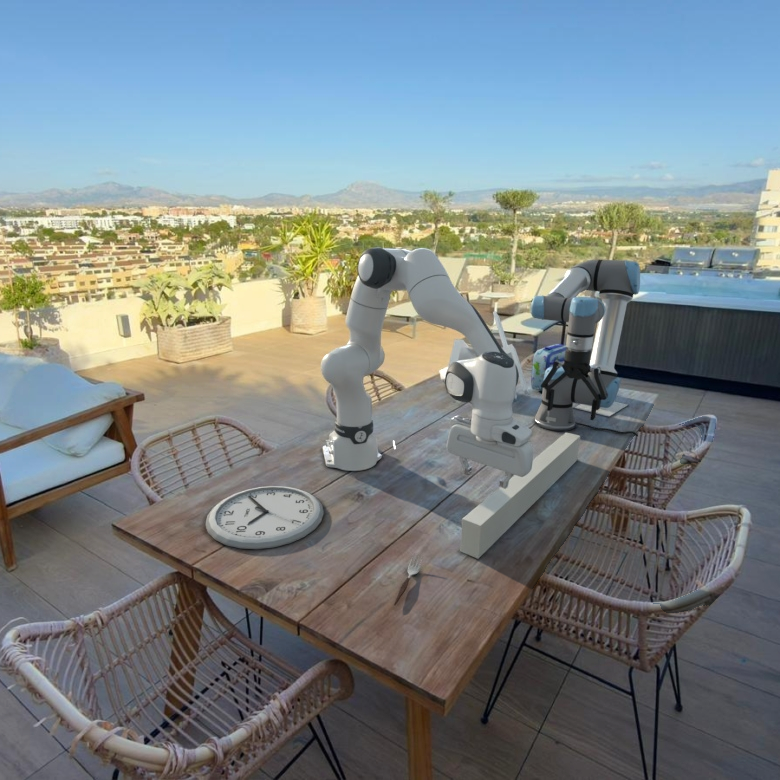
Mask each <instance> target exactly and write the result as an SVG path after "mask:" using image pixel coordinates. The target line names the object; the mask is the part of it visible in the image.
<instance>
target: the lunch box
mask: <svg viewBox="0 0 780 780" xmlns="http://www.w3.org/2000/svg"><path fill="white" fill-rule="evenodd" d="M566 349H567V347H566V344H560V343H555V344H552V345H547V346H545V347H542V348H539V349H537V350H536V351H535V353H534V355H533V358H532V363H531V364H532V365H531V376H530V377H531V378H530V387H531V389H532V390H536V391H539V392H540V391H541V392H542V391H543V388H542V387H541V384H542V383H543V379H544V375H545V371H546V369H548V368H550V367H553V363H554V362H555V361H557V360H559V361H560V362H563V363H564V358H565V350H566Z"/></svg>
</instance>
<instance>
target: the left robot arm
mask: <svg viewBox="0 0 780 780" xmlns="http://www.w3.org/2000/svg"><path fill="white" fill-rule="evenodd" d="M356 271H357V276H356V279H355V282H354V285H353V287H352V291H351V295H350V299H349V303H348V307H347V311H346V316H345V319H344V320H345V321H344V322H345V326H346V328H347V329H348V331H349V339H348V342H347V343H346V344H345V345H342V346H339V347H336V348H334V349H332V350H331V351H330V352H328V353H326V355H324V356H323V358H322V359H321V361H320V372H321V375H322V377H323V379H324V380H325V381H326V382H327V383H328V384H330V386H331V387H332V390H333V392H334V397H335V405H336V417H335V418H336V419H335V423H334V429H333V431H331V432H330V433H329V435H328V439H325V440H324V442H325V443H324V444H325V445H323V446H322V453H323V454H322V455H323V458H324V463H325V466H326V467H327V468H333V469H334V468H335V469H338V470H341V471H346V472H347V471H349V472H358V471H359V472H360V471H364V470H369V469H371V468H373V467H374V466H375V465H376V464H377V462H378V461H379V460H381V459H382V458H383V456H382V454H381V453H380V452H379V449H378V436H377V434H376V433H374V420H373V415H372V414H373V398H372V396H371V394H369V392H367V391H366V389H365V384H364V378H365V377H367V376H369V375H371V374H374V373H375V372H376V371H377V370H379V368H381V367H382V366H383V364H384V362H385V358H386V354H385V350H384V348H383V346H382V331H383V326H384V322H385V319H386V315H387V310H388V308H389V303H390V299H391V295H392V293H393V292H399V291H400V292H401V291H402V292H405V291H406V292H407V295H408V297H409V300H410V302H411V305H412V307H413V309H414V311H415V313H416V314H417V315H418V316H419V318H420V319H422V320H423V321H425V322H427V323H429V324H433V325H437V326H441V327H445V328H447V329H452V330H454V331H456V332H458V333H460V334H462V336H464V337H465V339H466V340H467V341H468V343H469V344H470V347H473V349H474V351H475V352H476V354H477V355H478V357H476V358H473V359H466V360H460V361H456V362H453V363H452V364H451V365H450V366H449V365H448V366H449V367H448V366H447V367H448V369H447V372H446V376H445V384H444V386H445V389H446V391H447V393H448V395H449V396H450V397H451V398H452V399H454V400H456V401H458V402H461V403H470V404H472V410H471V418H467V417H463V416H461V415H456V416H453V417H451V418H450V420H449V432H448V437H447V440H446V450H447V452H448V453H449V454H451V455H454V456H457V457H459V458H458V459H459V462H460V465H461V467H462V474H463V475H465V476H468V477H470V475H472V473H473V471H472V470H473V466H470V464H469V460H470V461H472V462H475V463H478V464H481V465H484V466H487V467H491V468H493V469H497V470H499V471H502V472H504V476H506V477H502V478H501V479H500V480H499V484H498V488H500V487H501V488H504V489H506V488H507V487H508V484H509V480H510V479H511V478H512V477H513V476H514V475H517V476H520V477H524V476H525V475H527V474H528V473H529V472H530V471H531V469H532V462H533V459H534V449H533V445H532V442H531V441H530V440H531V438H532V436H533V431H532V429H531V428H529V427H527V426H526V425H524V424H523V423H521V422H520V421H518V420H516V419H515V418H514V417H513V414H514V413H513V402H514V400H515V391H517V390H516V389H517V385H518V383H519V380H520V379H519V373H518V369H517V366H516V364H515V362H514V360H513V359H512V358H511V357H510V356H508V355H507V354H506V353H505V352H504V350H503V349H502V348H503V347H502V346H501V345H500V343H499V342H498V340H497V338H496V337H495V335H494V334H493V332H492V330H491V329H490V327H489V326H488V325H487V323H486V321H485V319H484V318H483V316H482V315H481V314H480V313H479V311H478V309H477V308H476V307H475V306H474V305H473V304H471V303H470V302H469V301H467V300H466V299H465V298H464V297H463V296H462V295H461V294H460V292H459V291H458V290H457V288H456V287H455V286H454V284H453V282H452V280H451V278H450V276H449V273H448V272H447V270H446V268H445V267H444V265H443V264H442V262H441V260H440V259H439V257H437V255H436V254H435V252H433V250H431V249H429V248H425V247H420V248H415V249H413V250H408V249H404V248H383V247H369V248H367V249H365V250H364V251H363V252H362V253H361V255H360V257H359V259H358V261H357V270H356ZM392 444H393V449H394V450H396V444H395V440H392Z"/></svg>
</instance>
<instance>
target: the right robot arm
mask: <svg viewBox="0 0 780 780" xmlns="http://www.w3.org/2000/svg"><path fill="white" fill-rule="evenodd" d="M640 287H641V266H640V264H639V262H637V261H634V260H626V259H624V260H623V259H600V258H599V259H597V258H594V259H588V260H585V261H583V262H580V263H578V264H575V265H573V266H572V267H571V268H569V269H568V270H567V271H566V272H565V274H564V276H563V279H562V280H561V281H560V282H559V283H558V284H557V285H556V286H555V287H554V288H553V289H552V290H551V291H550V292H549V293H548V294H547V295H535V296H534V297H533V299H532V301H531V305H530V315H531V317H532V318H534V319H538V320H542V321H555V322H564V323H568V325H567V334H566V342H565V345H566V347H567V349H566V350H565V358H564V363H563V362H560V361H559V360H557V361H555V362H554V363H553V367H550V368H548V369H546V371H545V375H544V379H543V383H542V384H541V387H542V388H543V391H541V392H542V394H541V402H540V405H539V407H538V410H537V411H536V413H535V416H534V424H535V425H536V426H537V427H539V428H542V429H544V430H549V431H556V432H567V431H572V430H574V429H575V428H576V425H577V426H581V427H585V428H588V429H592V430H596V431H603V432H604V431H605V432H611V433H615V434H620V435H626V434H630V435H631V434H632V435H634V436H635V437H639V435H638V433H637V432H635V431H633V430H627V431H620V430H616V429H612V428H607V427H605V428H604V427H597V426H592V425H589V424H586V423H582V422H578V421H576V418H575V417H576V416H575V413H574V407H573V405H574V403H575V404H579V405H580V404H585V405H590V406H592V409H591V412H590V418H589V420H590V421H594V420H595V419H596V416H597V414H596V410H599V408H600V407H603V408H609V407H610V406H611V405H612V404H613V402H616V401H615V400H616V398H617V396H618V394H619V389H620V385H621V378H620V377H618V371H617V370H616V369H615V364H616V360H617V356H618V355H617V354H618V350H619V344H620V339H621V335H622V331H623V325H624V319H625V314H626V310H627V305H628V303H630V302H631V301H632V300H633V298H634V295H635V296H636V295H638V294H639V293H640ZM585 291H590V292H598V297H599V298H595V297H593V296H578V295H580V293H584V292H585ZM595 327H596V329H595ZM594 333H595V334H594Z"/></svg>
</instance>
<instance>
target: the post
mask: <svg viewBox="0 0 780 780" xmlns="http://www.w3.org/2000/svg"><path fill="white" fill-rule="evenodd" d="M580 441H581V435H578V434H575V433H571V432H567V431H565V433H563V434H562V435H561V436H560V437H558V438H557V439H556V440H555V441H554V442H553V443H551V444H550V445H549V446H547V448H545V449H544V450H543V451H541V453H539V454H538V455H537V456H536V457H535V458H533V462H532V469H531V471H530V472H529V473H528V474H527V475H525V476H524V477H520V476H517V475H513V477H512V478H511V479H510V480H509V484H508V487H507V488H506V489H504V488H501V487H498V488H497V489H496V490H495V491H493V492H492V493H491V494H490V495H489V496H488V497H486V498H485V499H484V500H483V501H482V502H480V503H479V504H478V505H477V506H476V507H475V508H473V509H472V510H471V511H470V512H468V513H467V514H466V515H465V516H464V517H463V518H461V532H460V547H459V551H460V552H461V553H463V554H466V555H468V556H470V557H473V558H474V559H478V560H479V559H480V557H482V556H483V555H484V554H485V553H486V552H487V551H488V550H489V549H490V548H491V547H492V546H493V545H494V544H495V543H496V542H497V541H498V540H499V539H501V537H502V536H503V535H504V534H505V533H506V532H507V531H508V530H509V529H510V528H511V527H512V526H513V525H514V524H515V523H516V522H517V521H518V520H519V519H520V518H521V517H522V516H523V515H524V514H525V513H526V512H527V511H528V510H529V509H530V508H531V507H532V506H533V505H535V503H536V502H537V501H538V500H539V499H540V498H541V497H543V495H544V494H545V493H546V492H547V491H548V490H549V489H550V488H551V487H552V486H553V485H554V484H555V483H556V482H557V481H558V480H559V479H560V478H562V476H563V475H564V474H565V473H566V472H567V471H568V470H569V469H570V468H571V467H572V466H574V465H575V463H576V462H577V461H578V459H579V458H578V456H579V451H580V444H581V443H580Z"/></svg>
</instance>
